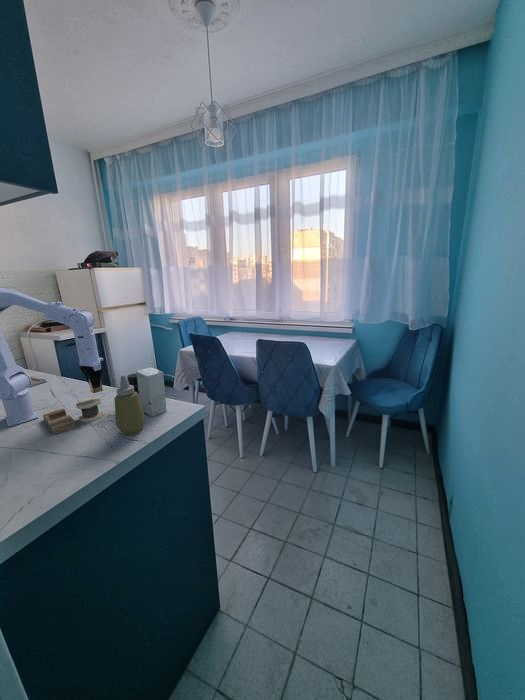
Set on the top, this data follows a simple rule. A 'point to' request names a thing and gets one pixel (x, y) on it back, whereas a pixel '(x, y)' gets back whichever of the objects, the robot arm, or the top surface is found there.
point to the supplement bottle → (133, 381)
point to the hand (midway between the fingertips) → (94, 386)
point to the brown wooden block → (95, 390)
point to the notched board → (59, 421)
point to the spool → (89, 409)
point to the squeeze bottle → (128, 409)
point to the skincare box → (151, 391)
